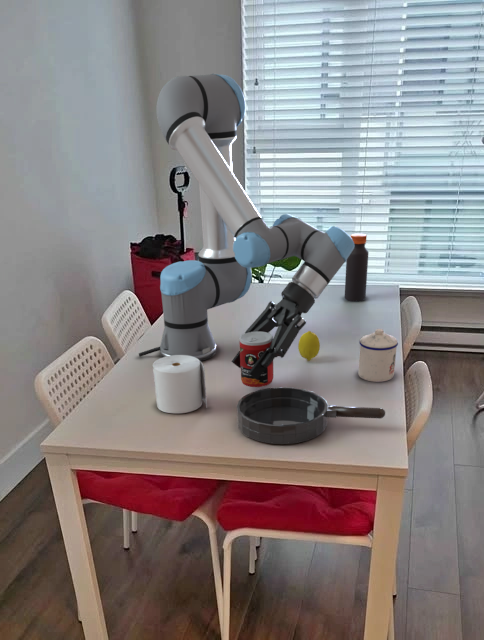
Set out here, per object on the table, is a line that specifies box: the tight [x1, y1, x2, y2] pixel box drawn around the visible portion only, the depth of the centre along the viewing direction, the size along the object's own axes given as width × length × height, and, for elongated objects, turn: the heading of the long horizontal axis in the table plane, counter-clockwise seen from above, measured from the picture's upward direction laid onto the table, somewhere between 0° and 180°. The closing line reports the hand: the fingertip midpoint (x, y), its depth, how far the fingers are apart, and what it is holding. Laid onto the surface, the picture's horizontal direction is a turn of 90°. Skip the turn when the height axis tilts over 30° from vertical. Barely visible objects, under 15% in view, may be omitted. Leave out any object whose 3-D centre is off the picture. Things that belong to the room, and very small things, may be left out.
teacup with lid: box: [357, 328, 399, 383], centre depth 164 cm, size 12×9×12 cm
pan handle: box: [327, 404, 386, 420], centre depth 141 cm, size 12×3×2 cm, turn 81°
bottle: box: [344, 233, 369, 302], centre depth 215 cm, size 7×7×20 cm
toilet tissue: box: [152, 355, 208, 414], centre depth 153 cm, size 11×12×10 cm
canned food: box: [239, 331, 274, 388], centre depth 158 cm, size 8×8×11 cm
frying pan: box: [236, 386, 329, 445], centre depth 144 cm, size 19×19×4 cm
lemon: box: [297, 330, 321, 362], centre depth 174 cm, size 6×6×8 cm
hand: (244, 370), depth 157 cm, fingers closed on canned food, 8 cm apart
